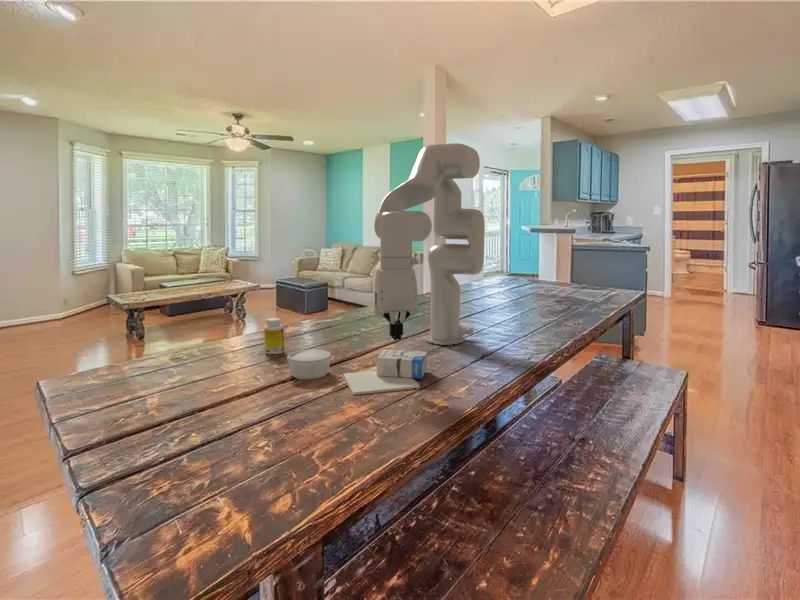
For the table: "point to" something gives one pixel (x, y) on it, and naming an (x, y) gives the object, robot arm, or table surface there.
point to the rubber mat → (377, 382)
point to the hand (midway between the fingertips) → (396, 338)
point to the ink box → (402, 363)
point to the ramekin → (309, 363)
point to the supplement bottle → (274, 336)
